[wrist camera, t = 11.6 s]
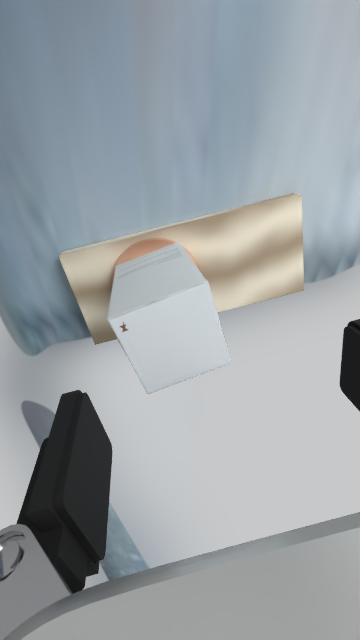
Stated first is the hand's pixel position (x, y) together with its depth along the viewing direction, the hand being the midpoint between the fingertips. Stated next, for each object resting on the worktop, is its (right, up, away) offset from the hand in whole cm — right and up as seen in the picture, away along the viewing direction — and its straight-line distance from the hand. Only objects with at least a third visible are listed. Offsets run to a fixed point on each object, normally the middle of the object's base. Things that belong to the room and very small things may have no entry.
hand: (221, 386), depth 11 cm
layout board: (0, +8, +25) cm, 26 cm away
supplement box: (-4, +6, +22) cm, 23 cm away
